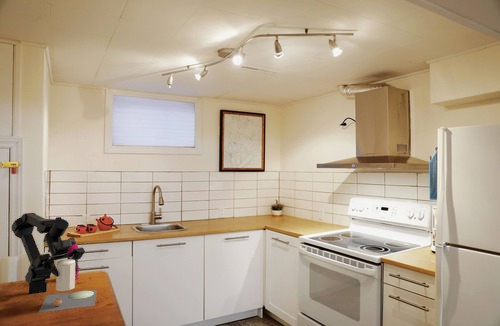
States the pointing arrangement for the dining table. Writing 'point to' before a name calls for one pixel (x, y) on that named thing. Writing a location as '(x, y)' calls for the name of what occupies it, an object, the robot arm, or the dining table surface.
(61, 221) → the robot arm
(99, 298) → the dining table surface
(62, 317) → the dining table surface
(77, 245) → the pepper mill
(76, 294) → the board
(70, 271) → the salt shaker
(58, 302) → the ball
